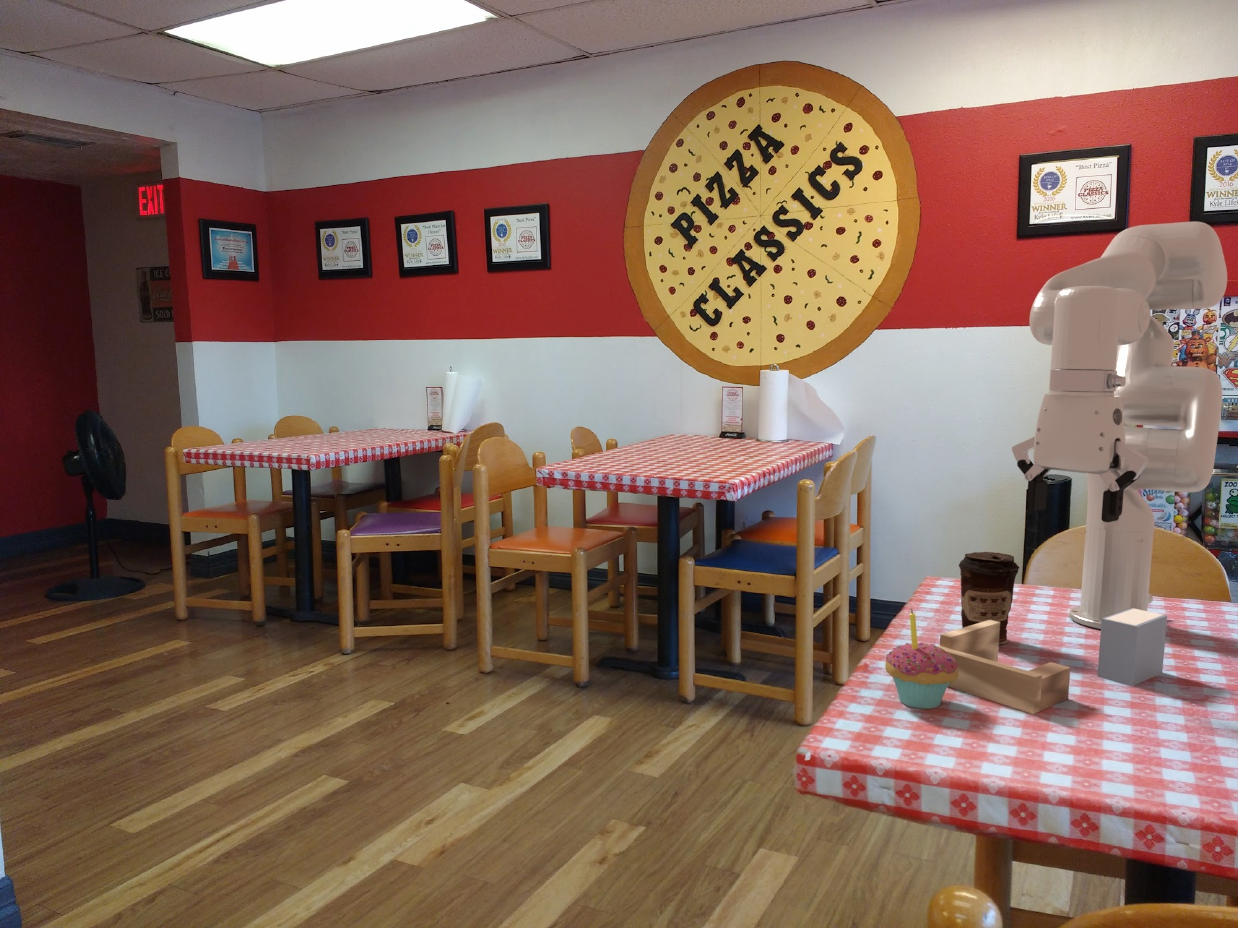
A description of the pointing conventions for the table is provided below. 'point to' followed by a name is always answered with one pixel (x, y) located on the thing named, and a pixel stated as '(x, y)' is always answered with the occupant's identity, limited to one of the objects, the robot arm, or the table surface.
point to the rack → (1001, 671)
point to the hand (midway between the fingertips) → (1072, 515)
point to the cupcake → (920, 671)
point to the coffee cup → (987, 589)
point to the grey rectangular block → (1132, 646)
